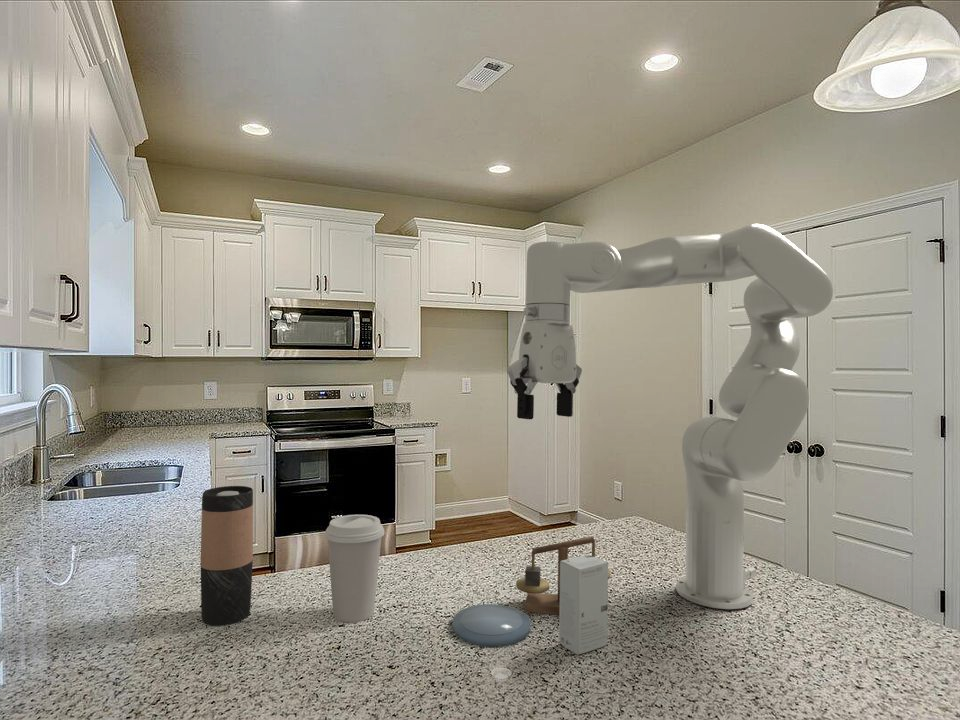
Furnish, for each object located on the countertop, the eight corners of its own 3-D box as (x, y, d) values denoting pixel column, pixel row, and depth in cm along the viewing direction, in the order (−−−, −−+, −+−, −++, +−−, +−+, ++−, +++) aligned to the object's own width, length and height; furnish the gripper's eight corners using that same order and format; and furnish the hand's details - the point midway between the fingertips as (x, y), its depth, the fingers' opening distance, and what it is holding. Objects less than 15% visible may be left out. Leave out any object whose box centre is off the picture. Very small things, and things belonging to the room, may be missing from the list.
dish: (502, 604, 96) (502, 597, 96) (546, 634, 86) (546, 626, 86) (439, 620, 90) (439, 613, 90) (477, 654, 80) (477, 646, 80)
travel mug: (262, 609, 93) (264, 487, 93) (227, 630, 86) (229, 498, 86) (225, 602, 96) (226, 484, 96) (188, 622, 89) (190, 493, 89)
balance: (609, 604, 97) (609, 532, 97) (611, 619, 91) (612, 542, 91) (517, 597, 99) (518, 527, 99) (514, 611, 94) (515, 536, 94)
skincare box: (578, 656, 80) (579, 569, 80) (557, 643, 83) (558, 560, 84) (609, 644, 83) (610, 561, 83) (587, 632, 87) (588, 553, 87)
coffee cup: (362, 596, 99) (363, 510, 99) (395, 614, 92) (396, 521, 92) (312, 612, 92) (313, 520, 93) (343, 633, 86) (344, 533, 86)
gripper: (527, 311, 88) (525, 422, 88) (597, 318, 99) (595, 417, 99) (494, 313, 94) (492, 417, 94) (564, 320, 105) (562, 413, 105)
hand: (545, 417), depth 96 cm, fingers open, 9 cm apart
